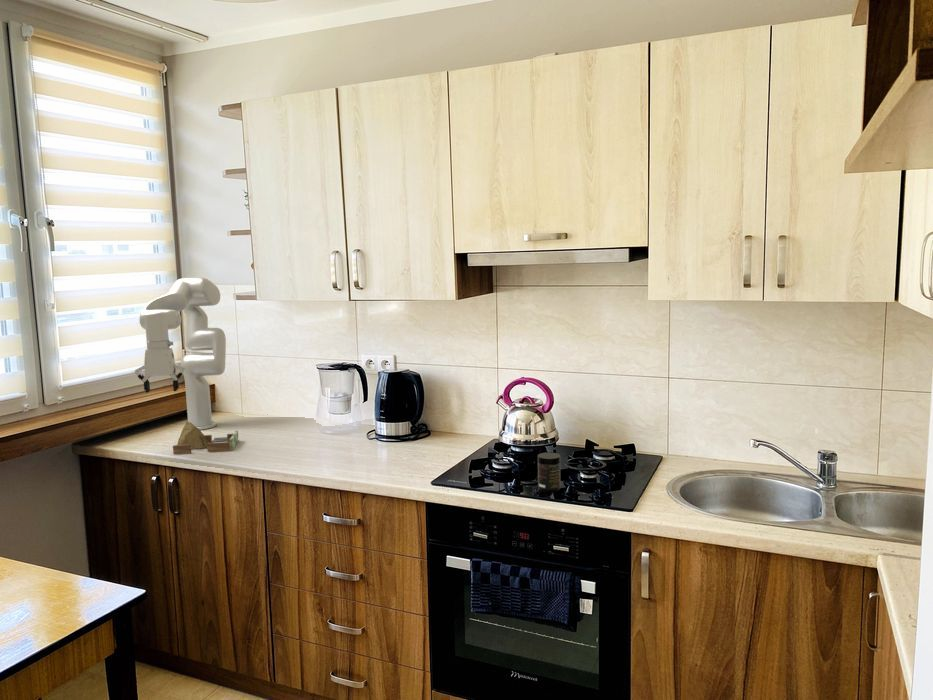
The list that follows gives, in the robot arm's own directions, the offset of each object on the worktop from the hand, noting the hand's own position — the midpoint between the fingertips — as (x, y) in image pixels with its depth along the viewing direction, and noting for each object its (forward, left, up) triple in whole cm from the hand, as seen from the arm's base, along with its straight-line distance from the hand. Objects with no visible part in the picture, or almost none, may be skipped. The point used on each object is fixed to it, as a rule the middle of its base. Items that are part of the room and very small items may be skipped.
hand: (161, 391), depth 262 cm
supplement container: (+72, +127, -23) cm, 148 cm away
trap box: (-6, +14, -23) cm, 28 cm away
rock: (-3, +9, -23) cm, 25 cm away
